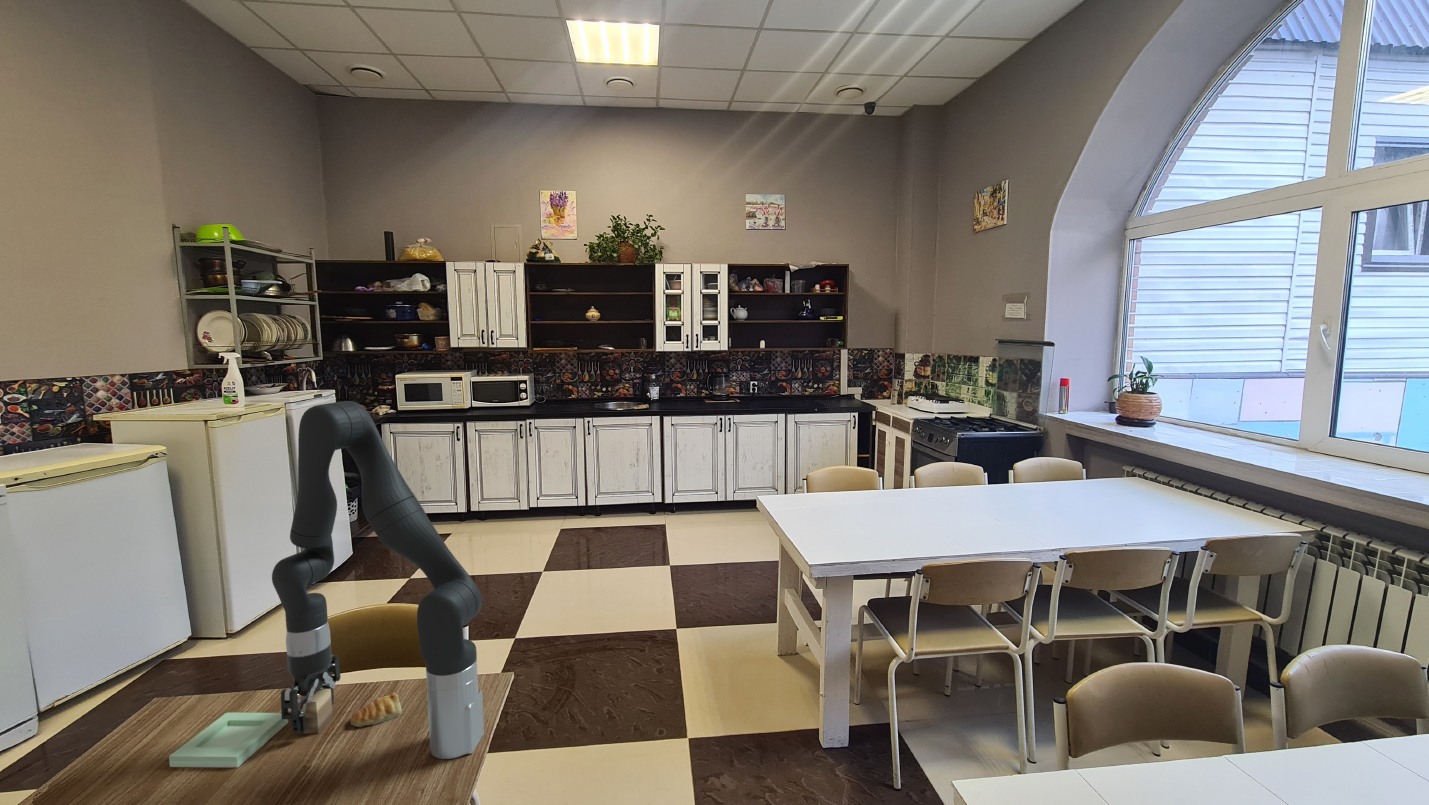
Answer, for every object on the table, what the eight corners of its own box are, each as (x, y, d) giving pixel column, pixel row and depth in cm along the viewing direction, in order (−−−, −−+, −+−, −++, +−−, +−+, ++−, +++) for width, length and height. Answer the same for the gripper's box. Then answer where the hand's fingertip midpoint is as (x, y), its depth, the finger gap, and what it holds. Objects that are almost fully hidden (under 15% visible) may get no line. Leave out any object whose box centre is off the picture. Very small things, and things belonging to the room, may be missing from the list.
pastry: (354, 735, 120) (352, 718, 120) (348, 719, 125) (347, 703, 125) (404, 716, 126) (403, 699, 126) (396, 701, 131) (395, 685, 131)
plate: (288, 722, 123) (287, 713, 123) (237, 767, 110) (236, 756, 110) (227, 722, 124) (226, 712, 123) (170, 766, 111) (168, 756, 110)
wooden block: (332, 719, 125) (330, 688, 124) (318, 733, 120) (316, 701, 119) (312, 719, 125) (309, 688, 124) (297, 733, 120) (294, 701, 119)
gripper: (302, 664, 113) (308, 742, 115) (348, 628, 128) (353, 698, 129) (264, 664, 113) (270, 741, 115) (314, 628, 128) (319, 697, 129)
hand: (314, 718), depth 122 cm, fingers open, 8 cm apart
